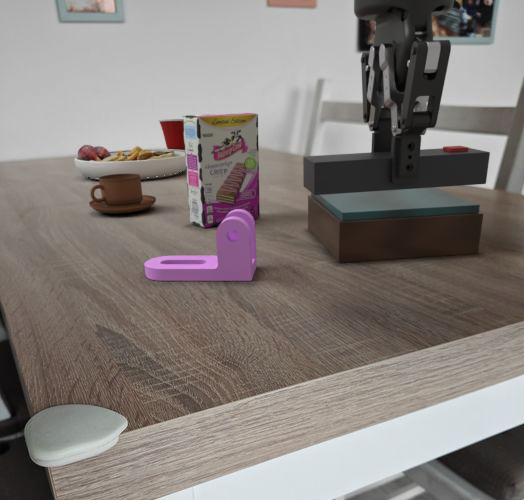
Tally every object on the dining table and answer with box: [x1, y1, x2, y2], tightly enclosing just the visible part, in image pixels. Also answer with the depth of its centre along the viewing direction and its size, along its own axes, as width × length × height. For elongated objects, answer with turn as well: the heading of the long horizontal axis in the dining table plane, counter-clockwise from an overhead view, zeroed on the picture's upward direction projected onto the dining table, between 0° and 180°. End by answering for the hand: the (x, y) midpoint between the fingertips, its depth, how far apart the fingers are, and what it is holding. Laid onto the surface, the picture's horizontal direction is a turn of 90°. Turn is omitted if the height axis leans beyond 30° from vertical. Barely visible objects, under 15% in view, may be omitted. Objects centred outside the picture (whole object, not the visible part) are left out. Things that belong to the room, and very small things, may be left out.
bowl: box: [74, 144, 186, 181], centre depth 146 cm, size 30×30×8 cm
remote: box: [302, 145, 491, 195], centre depth 48 cm, size 5×15×3 cm, turn 97°
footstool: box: [307, 187, 484, 264], centre depth 76 cm, size 18×19×6 cm
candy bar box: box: [182, 112, 261, 229], centre depth 88 cm, size 11×5×16 cm, turn 126°
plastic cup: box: [157, 118, 185, 150], centre depth 179 cm, size 11×11×12 cm
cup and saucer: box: [88, 174, 157, 215], centre depth 101 cm, size 12×12×6 cm
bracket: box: [143, 209, 258, 282], centre depth 64 cm, size 13×6×7 cm, turn 84°
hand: (392, 178), depth 48 cm, fingers closed on remote, 4 cm apart
